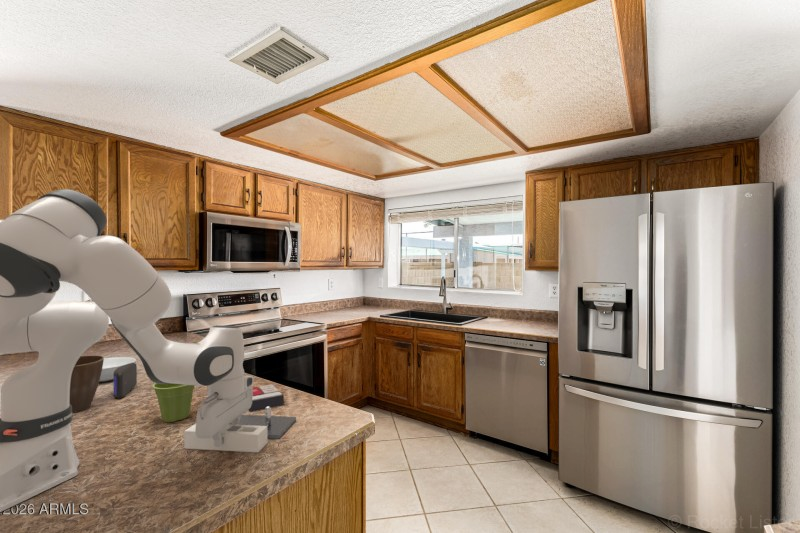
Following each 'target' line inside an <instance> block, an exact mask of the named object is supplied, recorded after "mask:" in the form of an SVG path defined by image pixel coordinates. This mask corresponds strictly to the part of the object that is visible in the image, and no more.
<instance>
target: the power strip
mask: <svg viewBox="0 0 800 533" xmlns="http://www.w3.org/2000/svg"><path fill="white" fill-rule="evenodd" d="M195 428H196V423H195V424H193V425H191V426H189V428H187V429H185V430H184V431H183V433H184V436H183V437H184V439H183V440H184V442H183V443H184V444H183V445H184V446H183V447H184V449H187V450H190V449H191V450H204V451H220V452H221V451H223V452H224V451H225V452H226V451H227V452H241V453H242V452H244V453H259V452H260V451H261V450H262V449H263V448H264V447H265V446H267V444H268V442H269V441H268V440H269V439H268V438H267V426H255V425H234V424H228V425H227V426H226V427H224V428H223V429H222V433H220V434H221V437H224V444H223V445H221V446H220V447H215V446H214V439H213V438H212V437H211V438H198V437H197V436H196V434H195Z"/></svg>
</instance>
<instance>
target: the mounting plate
mask: <svg viewBox="0 0 800 533" xmlns="http://www.w3.org/2000/svg"><path fill="white" fill-rule="evenodd" d="M264 411H265V412H264V415H257V414H256V415H254V414H242V415H241V419H240V422H239V425H255V426H267V439H271V440H272V439H273V440H274V439H276V440H279V439H280V438H281V437H282V436H283V435H284V434H285V433H286V432H287V431H288V430H289V429H290V428H291V427H292V426H293V424H294V423H295V422H296V421H297V416H281V415H280V416H279V415H277V416H276V415H272V408H271V407H270V406H267V407H266V408H265V409H264ZM230 424H231V423H230Z"/></svg>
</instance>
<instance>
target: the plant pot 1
mask: <svg viewBox="0 0 800 533" xmlns="http://www.w3.org/2000/svg"><path fill="white" fill-rule="evenodd" d="M104 358H105V357H104V356H102V355H95V354H94V355H81V356H80V358H79V359H78V361H77V362H76V364H75V366H74V368H73V371H72V375H71V382H70V404H71V405H72V414H75V413H79V412H82V411H85V410H87V409H89V408H90V407H91V404H92V403H93V400H94V397H95V394H96V393H97V390H98V387H99V384H100V382H99V380H100V376H101V372H102V367H103V361H104Z"/></svg>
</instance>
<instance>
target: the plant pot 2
mask: <svg viewBox="0 0 800 533" xmlns="http://www.w3.org/2000/svg"><path fill="white" fill-rule="evenodd" d="M151 387H152V389H154V392H155V395H156V397H157V402H158V406H159V410H160V415H161V419H162V421H163V422H165V423H175V422H177V421H182V420H185V419H187V418H188V417H189V416H190V414H191V408H192V407H191V406H192V401H193V394H194V389H195V386H194V385H181V384H158V383H155V382H154V383H153V384H152V385H151Z"/></svg>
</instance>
